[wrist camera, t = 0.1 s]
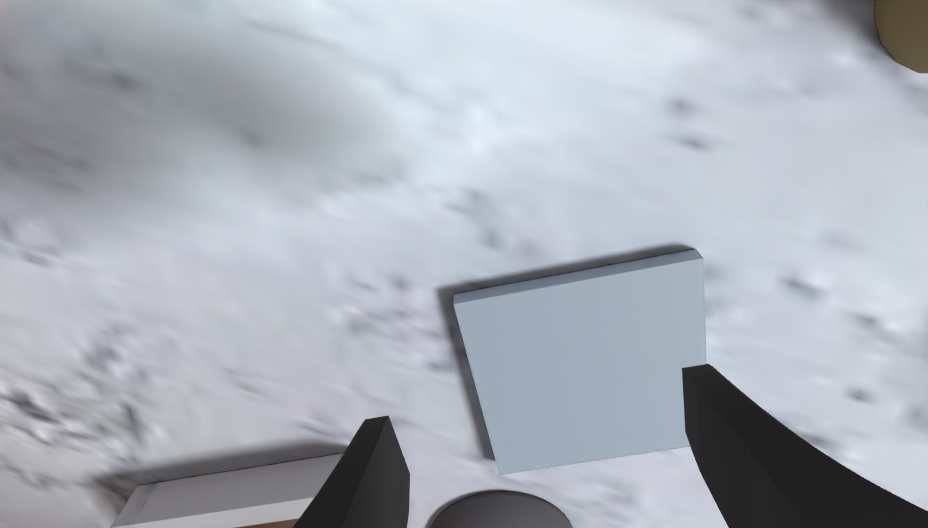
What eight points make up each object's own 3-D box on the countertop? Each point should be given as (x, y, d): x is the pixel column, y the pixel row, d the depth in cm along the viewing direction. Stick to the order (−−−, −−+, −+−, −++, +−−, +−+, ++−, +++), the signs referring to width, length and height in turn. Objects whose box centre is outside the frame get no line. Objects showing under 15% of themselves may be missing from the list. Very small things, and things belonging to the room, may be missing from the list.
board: (702, 431, 27) (709, 443, 27) (498, 462, 28) (499, 474, 28) (695, 249, 23) (703, 258, 22) (453, 294, 24) (453, 304, 23)
